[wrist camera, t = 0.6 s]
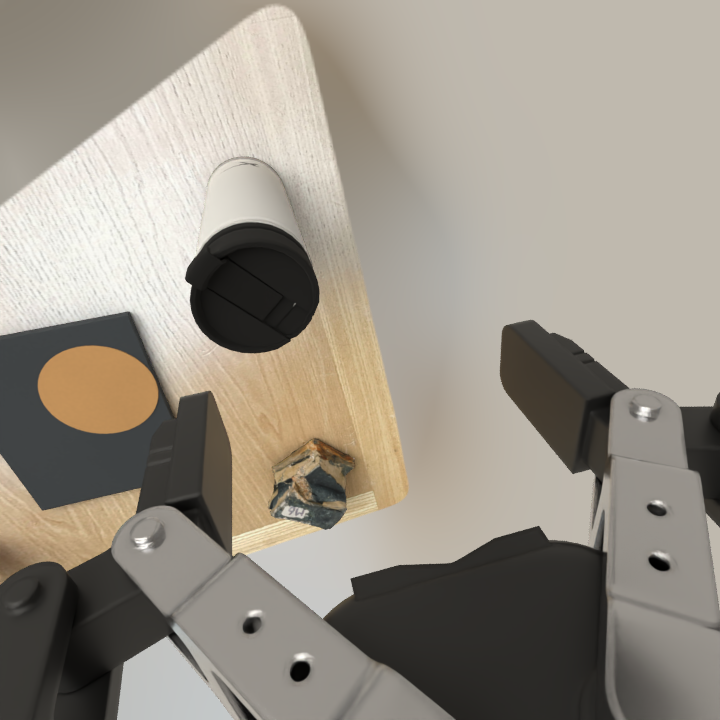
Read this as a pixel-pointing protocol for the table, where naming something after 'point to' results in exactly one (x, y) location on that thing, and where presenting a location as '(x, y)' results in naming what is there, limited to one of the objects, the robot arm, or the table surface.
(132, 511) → the table surface
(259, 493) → the table surface
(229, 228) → the travel mug
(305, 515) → the rock
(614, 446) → the robot arm
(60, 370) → the mat
